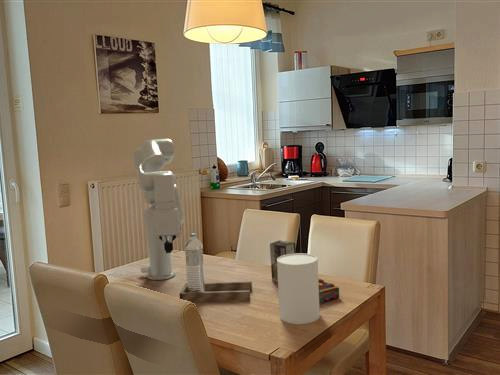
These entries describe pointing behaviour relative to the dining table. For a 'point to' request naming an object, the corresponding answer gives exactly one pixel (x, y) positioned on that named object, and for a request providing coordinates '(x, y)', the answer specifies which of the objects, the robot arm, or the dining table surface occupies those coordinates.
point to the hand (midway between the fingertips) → (169, 252)
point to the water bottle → (194, 265)
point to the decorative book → (327, 291)
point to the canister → (298, 288)
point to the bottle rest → (219, 292)
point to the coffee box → (279, 254)
